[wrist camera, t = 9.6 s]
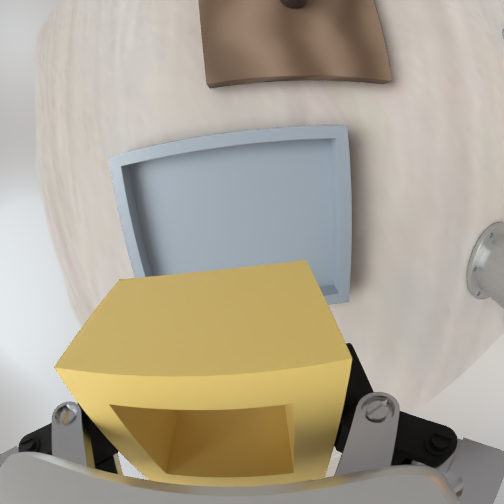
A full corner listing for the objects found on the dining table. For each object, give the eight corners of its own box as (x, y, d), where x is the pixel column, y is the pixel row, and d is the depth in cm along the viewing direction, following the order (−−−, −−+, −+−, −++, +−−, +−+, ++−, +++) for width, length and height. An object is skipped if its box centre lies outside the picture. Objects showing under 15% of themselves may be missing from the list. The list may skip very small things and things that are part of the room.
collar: (305, 260, 10) (352, 358, 5) (306, 390, 12) (324, 477, 8) (119, 279, 10) (54, 367, 5) (167, 398, 12) (149, 480, 8)
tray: (336, 126, 25) (347, 125, 22) (340, 288, 31) (348, 301, 28) (121, 155, 25) (108, 156, 22) (156, 307, 32) (149, 321, 29)
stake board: (351, -38, 16) (357, -45, 14) (383, 84, 23) (392, 80, 21) (197, -38, 16) (195, -47, 15) (209, 88, 23) (206, 83, 21)
